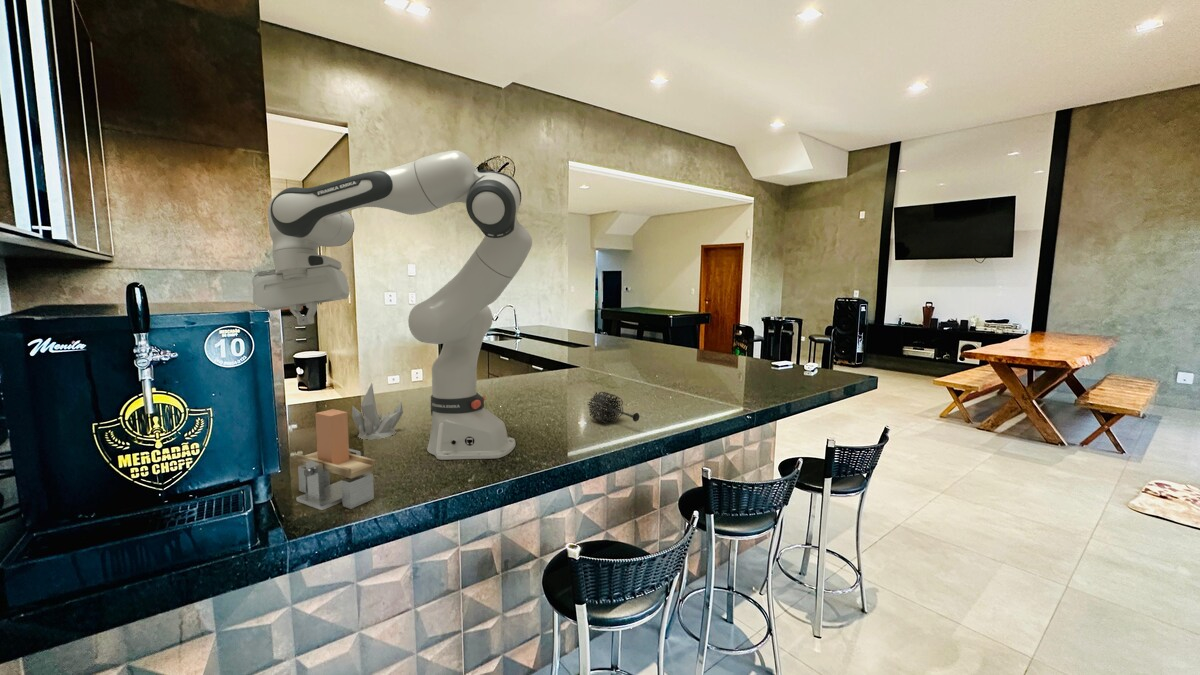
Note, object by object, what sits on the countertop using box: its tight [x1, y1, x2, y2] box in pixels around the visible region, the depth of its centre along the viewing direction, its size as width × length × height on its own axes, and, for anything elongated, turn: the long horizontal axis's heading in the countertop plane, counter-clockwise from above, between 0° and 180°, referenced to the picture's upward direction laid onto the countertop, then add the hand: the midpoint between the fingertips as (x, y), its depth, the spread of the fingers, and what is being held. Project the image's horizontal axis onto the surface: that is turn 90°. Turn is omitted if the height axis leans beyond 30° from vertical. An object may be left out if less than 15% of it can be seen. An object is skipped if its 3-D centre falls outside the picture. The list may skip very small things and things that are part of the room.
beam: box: [293, 451, 377, 478], centre depth 95 cm, size 17×6×2 cm, turn 62°
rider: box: [314, 408, 350, 465], centre depth 95 cm, size 5×4×10 cm
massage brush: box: [586, 391, 640, 425], centre depth 148 cm, size 9×22×9 cm, turn 39°
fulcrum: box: [295, 448, 375, 511], centre depth 96 cm, size 16×11×8 cm
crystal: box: [351, 383, 404, 441], centre depth 135 cm, size 10×13×15 cm
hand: (306, 324), depth 110 cm, fingers closed
